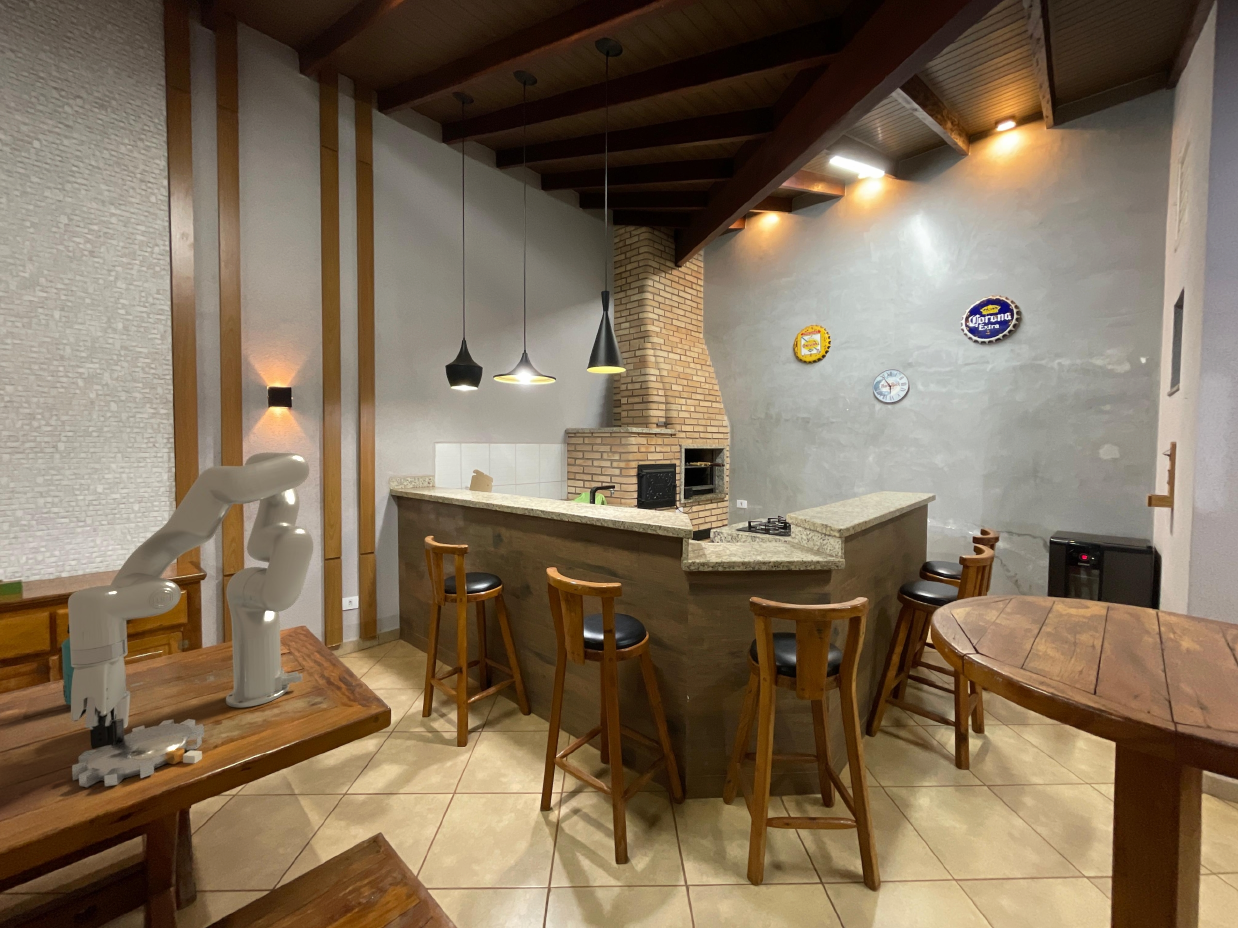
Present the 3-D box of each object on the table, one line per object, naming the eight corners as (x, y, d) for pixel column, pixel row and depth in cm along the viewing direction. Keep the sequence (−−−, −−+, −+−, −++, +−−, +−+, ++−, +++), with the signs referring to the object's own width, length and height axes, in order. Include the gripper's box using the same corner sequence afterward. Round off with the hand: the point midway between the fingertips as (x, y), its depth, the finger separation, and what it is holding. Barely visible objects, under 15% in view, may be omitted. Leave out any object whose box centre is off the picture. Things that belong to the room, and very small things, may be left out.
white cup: (102, 740, 104) (101, 707, 103) (77, 736, 105) (76, 704, 105) (140, 722, 110) (139, 691, 110) (116, 718, 112) (115, 688, 111)
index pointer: (183, 762, 96) (182, 754, 96) (190, 757, 98) (190, 750, 98) (194, 763, 96) (194, 755, 96) (202, 758, 98) (201, 751, 98)
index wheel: (226, 733, 105) (226, 706, 105) (122, 793, 87) (121, 760, 87) (158, 723, 109) (157, 696, 109) (45, 778, 91) (43, 746, 91)
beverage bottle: (110, 699, 120) (107, 618, 119) (73, 713, 114) (69, 627, 113) (94, 695, 122) (91, 615, 121) (56, 708, 116) (52, 624, 115)
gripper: (91, 641, 100) (95, 730, 101) (51, 671, 87) (56, 773, 88) (140, 634, 104) (144, 720, 105) (109, 662, 91) (113, 760, 91)
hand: (104, 744), depth 96 cm, fingers closed
